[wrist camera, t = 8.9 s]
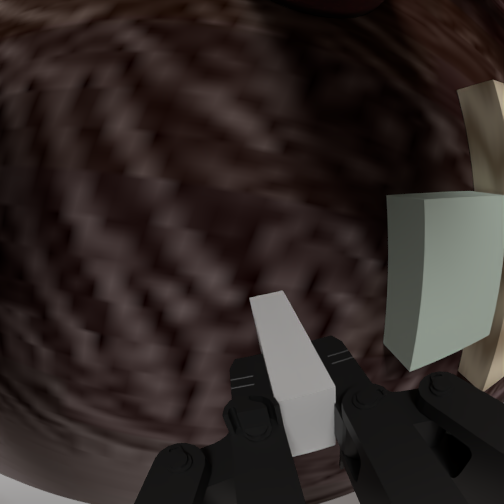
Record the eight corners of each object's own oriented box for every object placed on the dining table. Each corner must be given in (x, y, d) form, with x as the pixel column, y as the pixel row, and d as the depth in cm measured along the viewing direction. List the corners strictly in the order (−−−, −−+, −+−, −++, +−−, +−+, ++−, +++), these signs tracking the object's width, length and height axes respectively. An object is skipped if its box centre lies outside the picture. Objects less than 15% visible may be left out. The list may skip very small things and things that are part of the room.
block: (383, 195, 15) (424, 199, 12) (467, 190, 16) (505, 195, 12) (381, 341, 18) (409, 371, 14) (458, 314, 18) (489, 334, 14)
